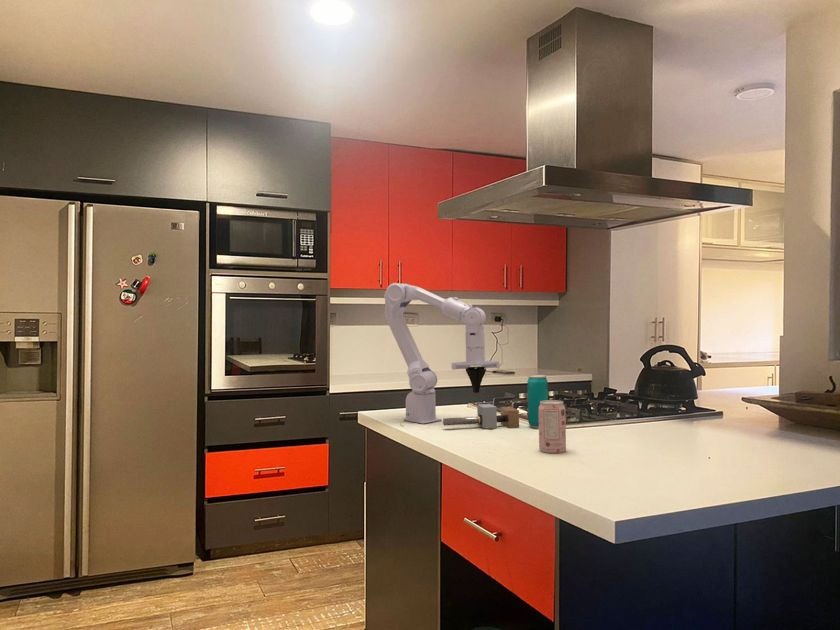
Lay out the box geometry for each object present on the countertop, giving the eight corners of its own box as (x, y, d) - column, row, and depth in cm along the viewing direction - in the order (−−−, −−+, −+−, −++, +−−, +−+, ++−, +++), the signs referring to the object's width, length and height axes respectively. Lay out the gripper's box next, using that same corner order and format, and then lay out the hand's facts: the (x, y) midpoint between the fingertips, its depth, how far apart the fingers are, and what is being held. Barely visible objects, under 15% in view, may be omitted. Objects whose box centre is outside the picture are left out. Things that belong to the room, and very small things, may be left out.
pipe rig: (447, 432, 181) (447, 415, 181) (440, 426, 190) (440, 410, 190) (520, 428, 185) (520, 410, 185) (510, 422, 194) (509, 406, 194)
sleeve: (483, 428, 185) (483, 407, 185) (477, 424, 191) (477, 404, 190) (496, 427, 185) (496, 406, 185) (490, 423, 191) (490, 403, 191)
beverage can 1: (547, 425, 189) (546, 374, 189) (549, 429, 183) (548, 376, 183) (527, 425, 190) (526, 374, 189) (529, 429, 184) (528, 377, 184)
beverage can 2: (567, 448, 159) (566, 400, 159) (564, 454, 153) (563, 404, 152) (541, 447, 161) (540, 399, 161) (537, 452, 155) (536, 403, 155)
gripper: (454, 349, 189) (455, 395, 189) (502, 347, 191) (503, 392, 192) (449, 347, 196) (450, 392, 196) (495, 346, 198) (496, 389, 198)
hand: (476, 392), depth 194 cm, fingers closed
